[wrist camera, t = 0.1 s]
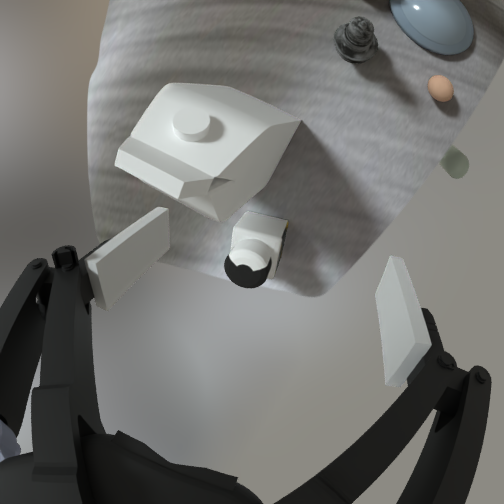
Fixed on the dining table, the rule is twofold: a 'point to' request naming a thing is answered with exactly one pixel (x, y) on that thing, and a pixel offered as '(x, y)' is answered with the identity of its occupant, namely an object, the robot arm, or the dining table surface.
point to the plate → (435, 24)
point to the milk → (207, 146)
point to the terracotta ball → (440, 88)
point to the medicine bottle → (255, 249)
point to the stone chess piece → (356, 40)
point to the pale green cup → (455, 163)
